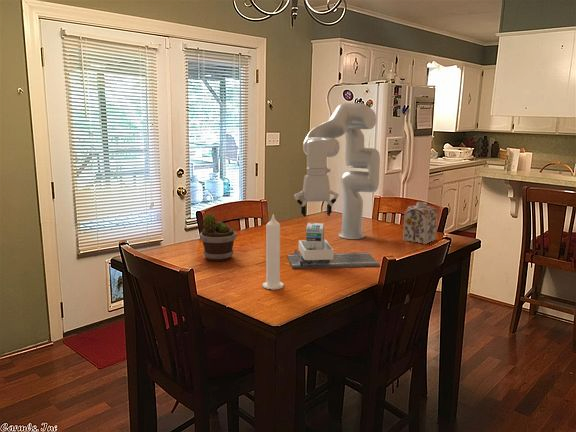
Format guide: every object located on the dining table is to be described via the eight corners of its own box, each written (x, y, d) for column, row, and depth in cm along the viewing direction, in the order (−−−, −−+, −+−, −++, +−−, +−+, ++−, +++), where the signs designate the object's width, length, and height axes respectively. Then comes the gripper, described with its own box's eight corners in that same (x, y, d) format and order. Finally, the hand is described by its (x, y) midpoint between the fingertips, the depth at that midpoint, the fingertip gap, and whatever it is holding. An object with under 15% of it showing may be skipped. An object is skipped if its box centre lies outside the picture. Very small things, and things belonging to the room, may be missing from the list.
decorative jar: (413, 236, 235) (415, 199, 231) (436, 240, 227) (439, 202, 224) (402, 240, 226) (404, 202, 222) (425, 245, 218) (428, 206, 215)
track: (287, 256, 198) (287, 249, 198) (367, 254, 202) (368, 247, 202) (292, 268, 183) (292, 261, 182) (379, 266, 187) (379, 258, 186)
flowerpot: (231, 251, 205) (230, 205, 201) (240, 261, 191) (240, 212, 187) (196, 254, 200) (195, 207, 196) (204, 265, 186) (203, 214, 182)
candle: (283, 282, 168) (283, 212, 163) (283, 289, 161) (284, 216, 156) (262, 282, 167) (262, 212, 162) (262, 289, 161) (262, 216, 155)
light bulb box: (322, 256, 186) (323, 228, 183) (305, 255, 186) (305, 228, 184) (323, 248, 196) (324, 222, 194) (307, 248, 197) (307, 222, 194)
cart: (298, 253, 198) (298, 240, 197) (325, 252, 199) (325, 239, 198) (304, 264, 183) (304, 250, 182) (333, 263, 185) (333, 249, 184)
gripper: (336, 170, 189) (335, 212, 193) (292, 171, 187) (293, 214, 191) (341, 172, 182) (340, 217, 186) (295, 173, 180) (295, 218, 184)
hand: (316, 215), depth 188 cm, fingers open, 9 cm apart
